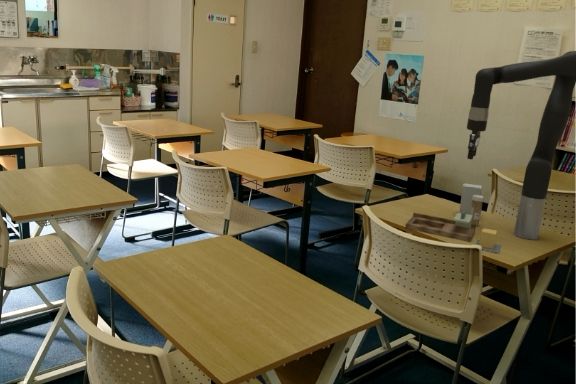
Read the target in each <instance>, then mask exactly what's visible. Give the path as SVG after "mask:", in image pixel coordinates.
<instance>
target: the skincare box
mask: <svg viewBox="0 0 576 384" xmlns="http://www.w3.org/2000/svg"><path fill="white" fill-rule="evenodd" d="M482 190H483V185H479V184H471V183H463V184H462V188H461V197H460V198H461V199H460V205H459V212H458V213H462V211H463V210H466V214H468V215H470V210H471V205H472V197H473V195H480V196H482Z"/></svg>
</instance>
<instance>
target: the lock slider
mask: <svg viewBox="0 0 576 384" xmlns="http://www.w3.org/2000/svg"><path fill="white" fill-rule="evenodd" d="M472 216H473V215H468V214H466V210H463V211H462V213H459V212H457V213H456V214H455V216H454V217H453V219H452V220H453V221H456V222H455V226H459V227H464V228H469V229H470V228H471V222H472Z"/></svg>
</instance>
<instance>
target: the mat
mask: <svg viewBox="0 0 576 384" xmlns="http://www.w3.org/2000/svg"><path fill="white" fill-rule="evenodd" d="M475 244H477V245H480V239H479V240H478V239H477V240H476V242H475ZM500 248H502V244H498V243H495V244H494V248H493V249H489V248H485V247H482V249H483V250H482V251H484V250H486V251H485V252H488V251H491V252H490V253H493V252H495V253H494V254H498V253H499V254H500V252H501V249H500Z"/></svg>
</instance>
